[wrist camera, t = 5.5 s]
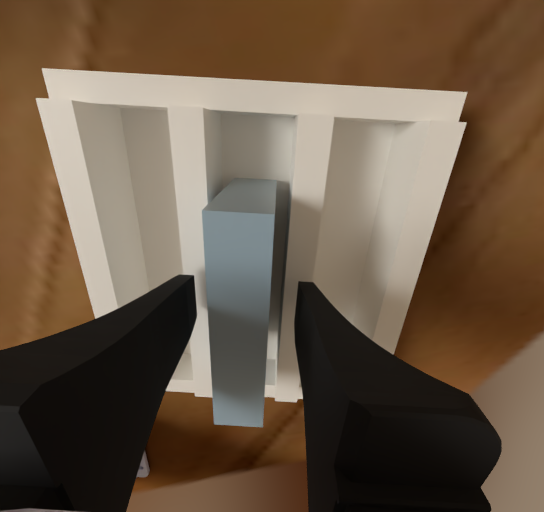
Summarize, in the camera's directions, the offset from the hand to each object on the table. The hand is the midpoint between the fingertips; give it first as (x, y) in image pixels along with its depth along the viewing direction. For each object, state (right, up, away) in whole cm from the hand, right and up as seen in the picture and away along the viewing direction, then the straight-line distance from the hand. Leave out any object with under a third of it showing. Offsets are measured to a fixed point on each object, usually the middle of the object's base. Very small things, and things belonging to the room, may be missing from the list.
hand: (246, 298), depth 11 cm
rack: (0, +2, +4) cm, 5 cm away
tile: (0, +1, +3) cm, 4 cm away
